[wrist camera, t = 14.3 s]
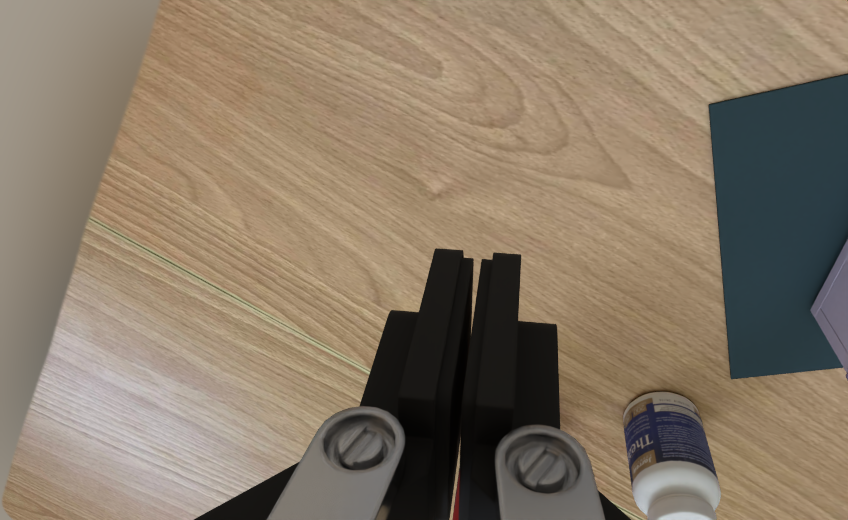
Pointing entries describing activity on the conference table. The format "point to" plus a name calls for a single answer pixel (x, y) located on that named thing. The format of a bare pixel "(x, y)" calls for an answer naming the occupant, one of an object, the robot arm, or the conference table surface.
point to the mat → (780, 220)
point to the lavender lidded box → (835, 308)
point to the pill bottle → (670, 459)
